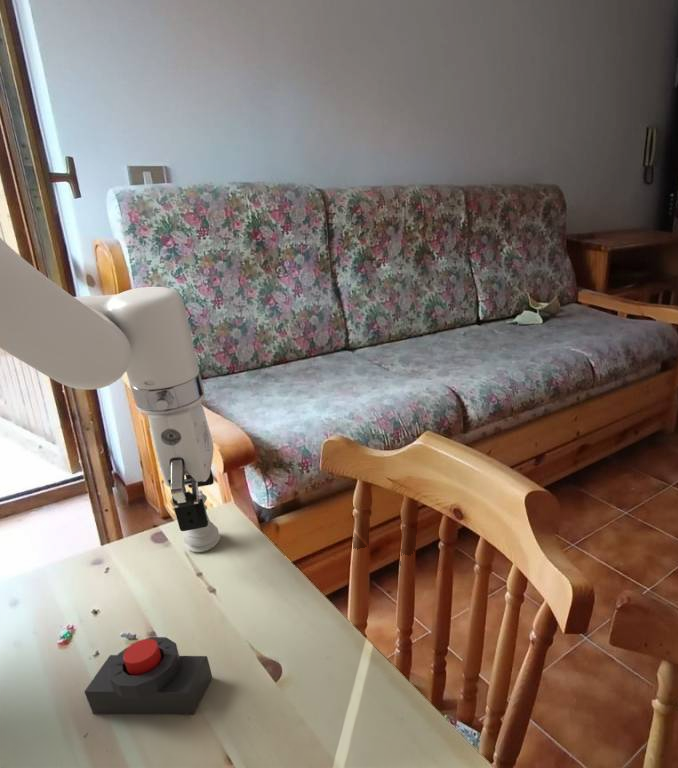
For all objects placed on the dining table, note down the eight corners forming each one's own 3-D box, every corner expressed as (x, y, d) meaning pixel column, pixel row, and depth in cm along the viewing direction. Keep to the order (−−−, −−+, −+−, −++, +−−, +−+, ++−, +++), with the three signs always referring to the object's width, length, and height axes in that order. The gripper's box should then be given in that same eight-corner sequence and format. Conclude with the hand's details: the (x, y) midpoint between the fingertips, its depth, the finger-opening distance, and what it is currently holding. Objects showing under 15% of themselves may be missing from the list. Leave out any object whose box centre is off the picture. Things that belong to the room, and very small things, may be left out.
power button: (120, 676, 61) (116, 663, 60) (137, 651, 64) (133, 638, 63) (151, 676, 61) (147, 663, 60) (167, 651, 64) (163, 638, 63)
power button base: (87, 721, 62) (73, 685, 59) (121, 670, 67) (109, 636, 65) (190, 722, 62) (180, 686, 60) (215, 671, 67) (207, 637, 65)
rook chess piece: (190, 558, 83) (178, 509, 79) (181, 541, 86) (169, 492, 83) (225, 545, 85) (215, 496, 82) (215, 528, 89) (204, 481, 85)
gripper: (195, 418, 70) (225, 540, 77) (208, 359, 84) (231, 466, 92) (119, 429, 67) (157, 553, 75) (145, 366, 82) (175, 475, 90)
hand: (198, 505), depth 83 cm, fingers open, 9 cm apart
